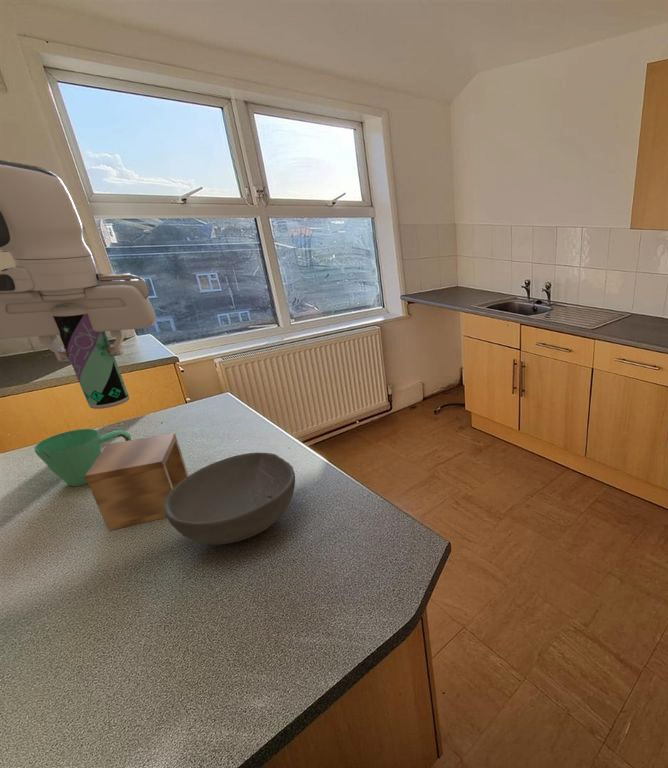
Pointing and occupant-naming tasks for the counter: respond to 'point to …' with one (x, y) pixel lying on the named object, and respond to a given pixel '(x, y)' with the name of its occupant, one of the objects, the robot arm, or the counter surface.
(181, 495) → the bowl
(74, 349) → the spray can
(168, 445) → the wooden box
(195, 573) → the counter surface
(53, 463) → the mug
